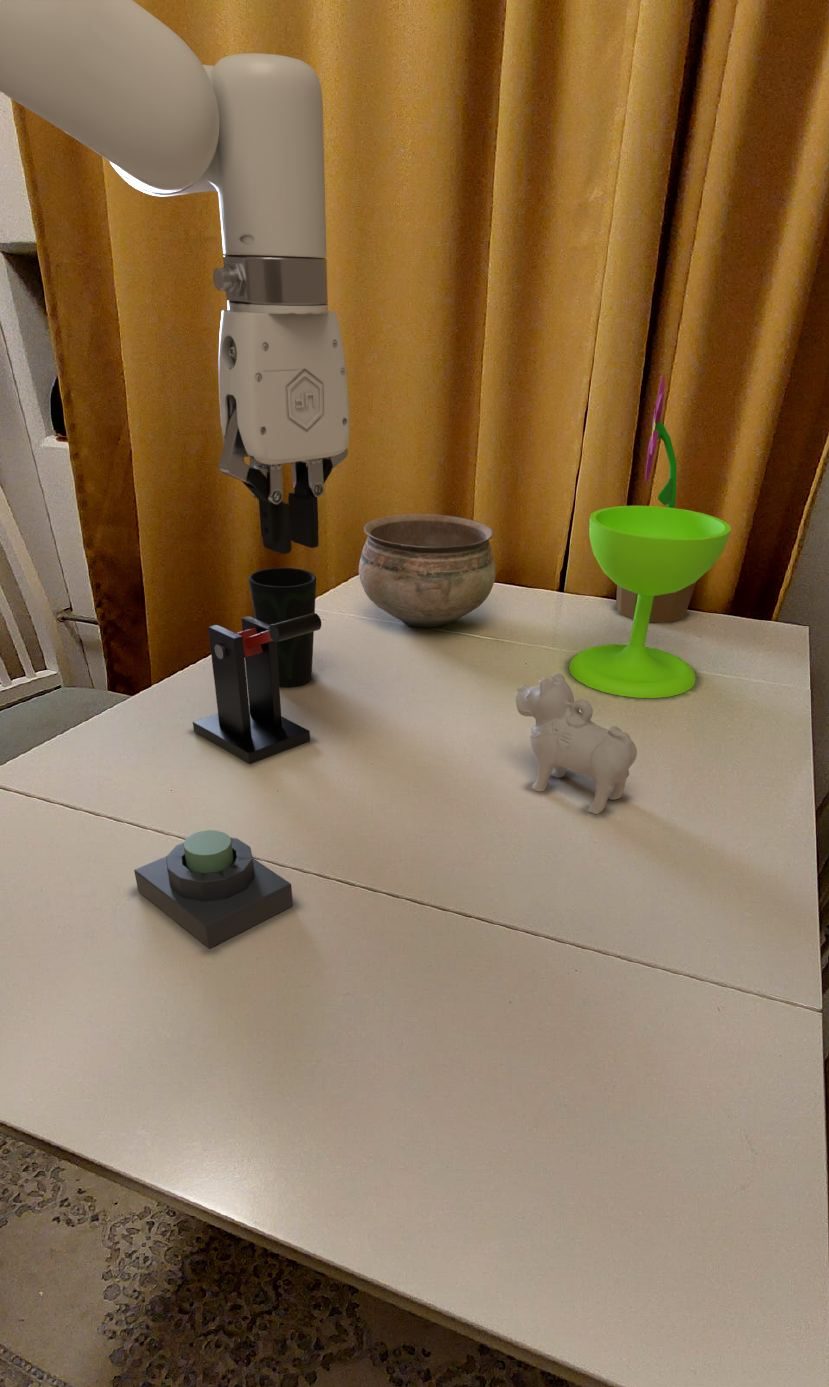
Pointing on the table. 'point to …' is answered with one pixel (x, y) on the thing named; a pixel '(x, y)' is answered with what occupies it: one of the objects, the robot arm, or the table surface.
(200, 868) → the power button
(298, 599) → the cup
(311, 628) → the lever handle
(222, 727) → the black lever stand
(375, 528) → the cooking pot
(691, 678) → the wineglass
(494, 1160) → the table surface
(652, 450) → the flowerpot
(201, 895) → the base
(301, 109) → the robot arm
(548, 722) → the dog figurine
